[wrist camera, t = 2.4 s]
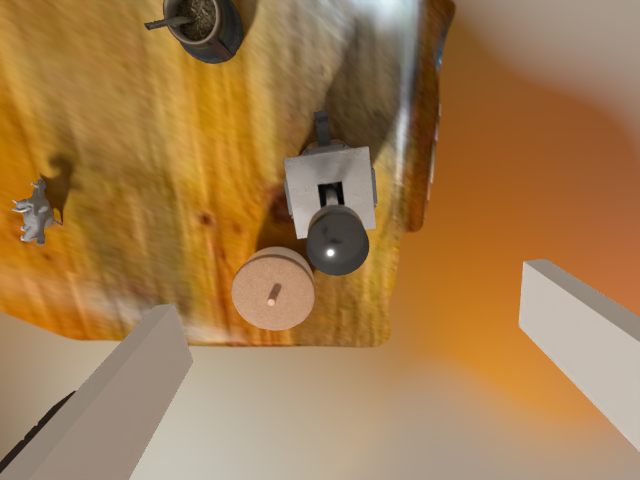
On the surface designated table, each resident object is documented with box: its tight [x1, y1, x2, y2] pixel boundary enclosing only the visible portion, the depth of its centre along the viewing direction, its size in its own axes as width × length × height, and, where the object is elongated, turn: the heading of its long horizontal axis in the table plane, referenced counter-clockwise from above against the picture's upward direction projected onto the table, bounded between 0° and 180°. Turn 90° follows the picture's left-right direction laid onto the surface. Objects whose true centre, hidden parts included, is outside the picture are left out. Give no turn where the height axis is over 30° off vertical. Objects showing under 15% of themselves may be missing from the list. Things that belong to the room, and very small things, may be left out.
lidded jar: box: [231, 246, 315, 330], centre depth 44 cm, size 11×11×9 cm
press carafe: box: [283, 110, 377, 239], centre depth 37 cm, size 12×9×13 cm
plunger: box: [306, 181, 369, 276], centre depth 27 cm, size 6×6×18 cm
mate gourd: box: [144, 0, 243, 64], centre depth 34 cm, size 7×8×10 cm
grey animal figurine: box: [11, 179, 62, 246], centre depth 44 cm, size 10×6×9 cm
